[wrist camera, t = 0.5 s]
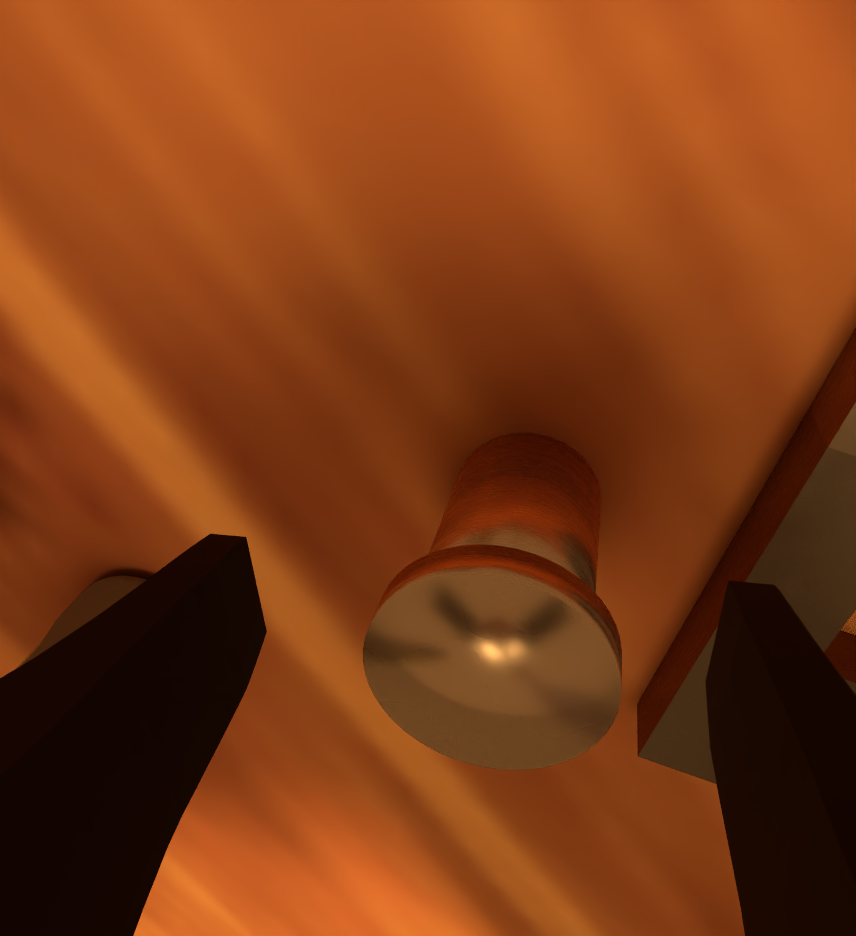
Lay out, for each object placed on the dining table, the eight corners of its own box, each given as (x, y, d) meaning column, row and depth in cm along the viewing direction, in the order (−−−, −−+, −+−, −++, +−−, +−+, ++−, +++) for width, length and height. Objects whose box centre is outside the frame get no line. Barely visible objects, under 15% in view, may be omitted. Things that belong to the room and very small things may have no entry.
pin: (585, 595, 22) (569, 800, 16) (417, 539, 23) (343, 719, 17) (654, 449, 20) (664, 632, 14) (462, 387, 20) (391, 539, 14)
